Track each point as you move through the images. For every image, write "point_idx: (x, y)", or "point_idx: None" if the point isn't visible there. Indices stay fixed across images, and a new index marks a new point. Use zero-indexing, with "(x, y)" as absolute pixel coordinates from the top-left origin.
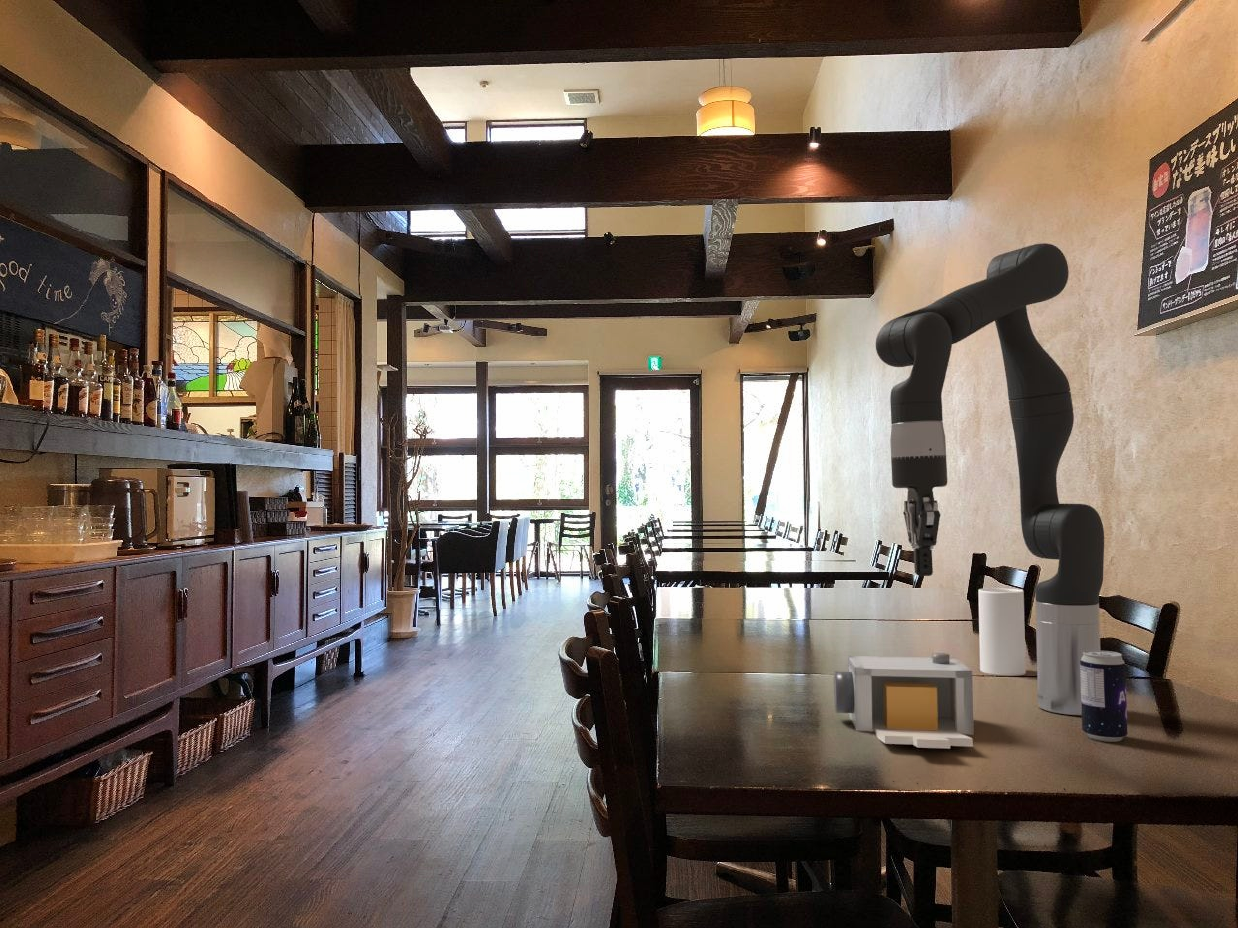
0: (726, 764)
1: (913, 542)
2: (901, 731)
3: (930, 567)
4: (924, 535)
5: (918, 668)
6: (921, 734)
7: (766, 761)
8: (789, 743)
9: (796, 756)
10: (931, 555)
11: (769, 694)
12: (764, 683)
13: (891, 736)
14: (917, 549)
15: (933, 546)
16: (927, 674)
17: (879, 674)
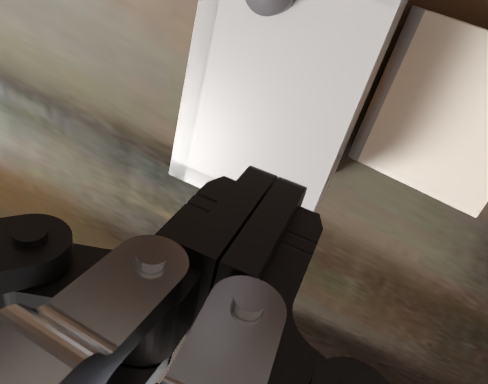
0: (406, 381)
1: (158, 377)
2: (401, 135)
3: (320, 233)
4: (21, 283)
5: (338, 99)
6: (466, 129)
7: (410, 339)
8: (333, 272)
9: (400, 297)
10: (270, 251)
11: (67, 166)
12: (3, 141)
13: (482, 207)
14: (193, 323)
15: (259, 291)
16: (366, 85)
17: (324, 186)
